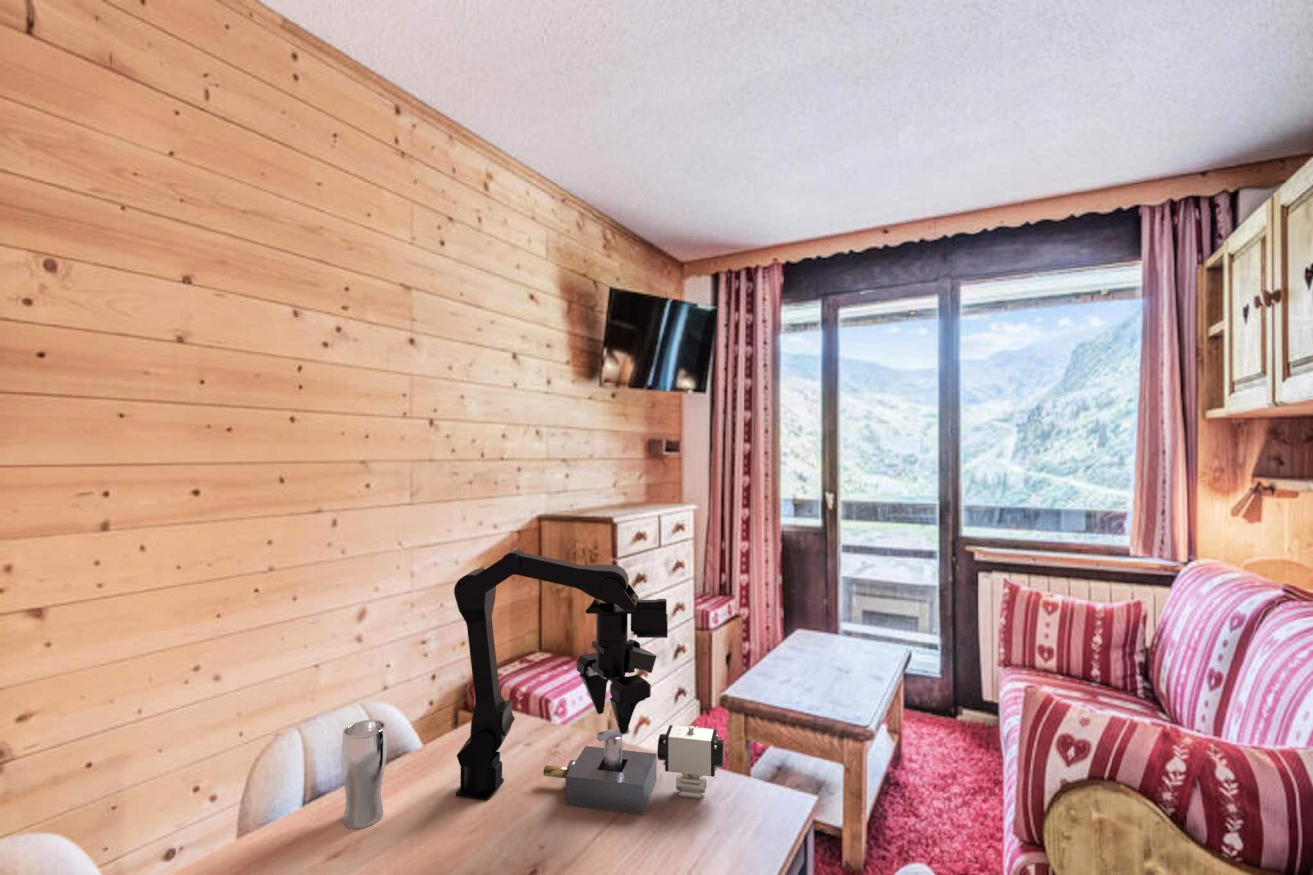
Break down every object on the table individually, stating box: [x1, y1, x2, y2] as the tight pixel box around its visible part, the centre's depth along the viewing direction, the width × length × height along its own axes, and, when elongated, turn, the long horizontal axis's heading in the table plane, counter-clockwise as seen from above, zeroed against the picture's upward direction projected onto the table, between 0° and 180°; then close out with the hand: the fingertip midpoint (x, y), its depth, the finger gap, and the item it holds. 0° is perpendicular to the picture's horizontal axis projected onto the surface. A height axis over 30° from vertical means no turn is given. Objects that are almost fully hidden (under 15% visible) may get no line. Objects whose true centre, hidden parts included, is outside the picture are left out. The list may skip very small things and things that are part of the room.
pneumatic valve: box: [656, 724, 726, 800], centre depth 110 cm, size 6×12×12 cm, turn 78°
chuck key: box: [596, 726, 630, 772], centre depth 109 cm, size 6×3×9 cm, turn 123°
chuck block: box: [543, 745, 658, 816], centre depth 110 cm, size 20×11×5 cm, turn 78°
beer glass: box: [340, 719, 388, 830], centre depth 102 cm, size 7×7×15 cm
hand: (611, 722), depth 110 cm, fingers open, 9 cm apart
